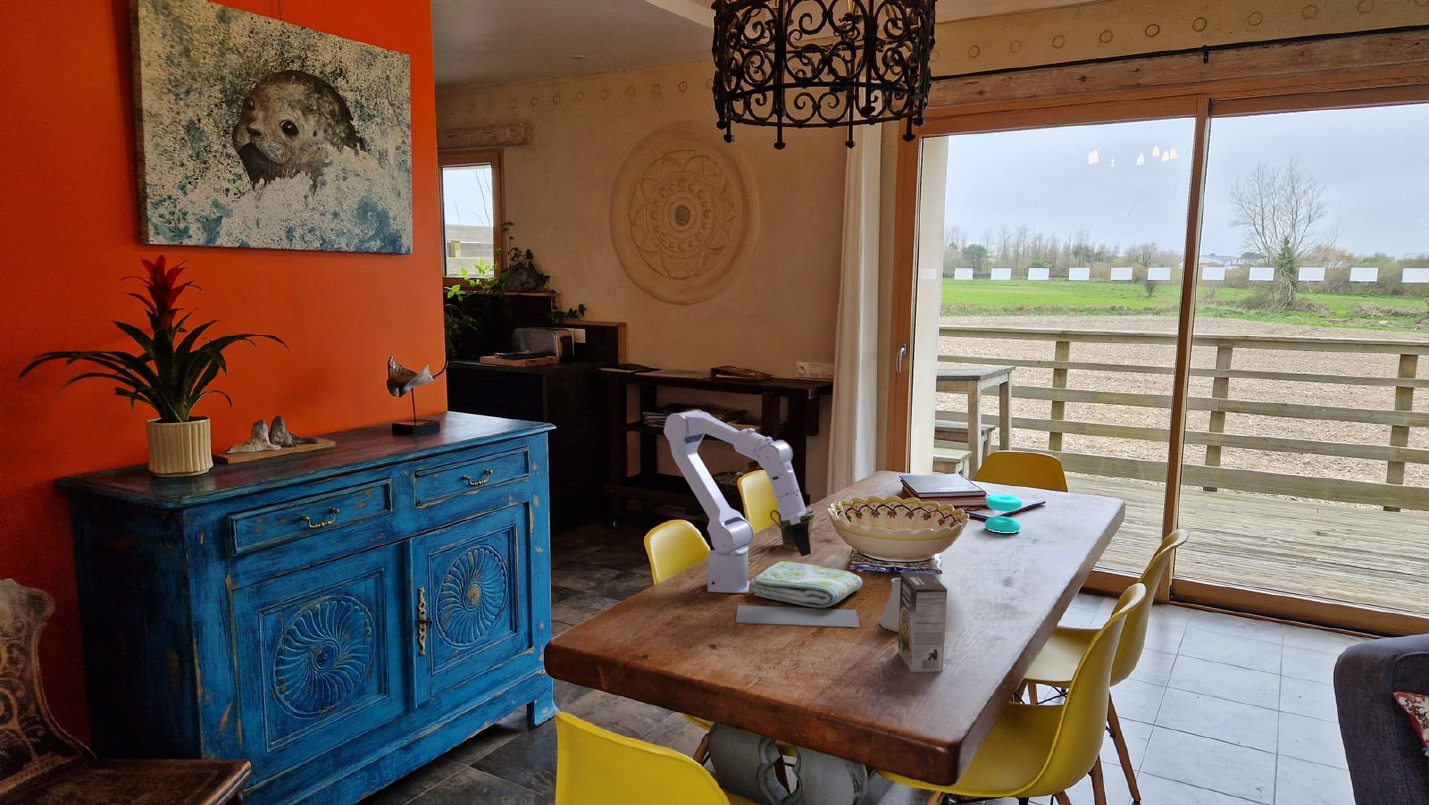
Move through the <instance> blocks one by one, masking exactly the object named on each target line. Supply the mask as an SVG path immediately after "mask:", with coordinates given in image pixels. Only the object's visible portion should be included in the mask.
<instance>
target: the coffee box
mask: <svg viewBox="0 0 1429 805" xmlns="http://www.w3.org/2000/svg"><path fill="white" fill-rule="evenodd" d="M900 578H901V583H900V612H899V631H898V641H897V643H898V644H897V648H898V649H897V653H898V655H899V656H900V658H901V659H902V660H903V662H904V663H905V665H906V667H907V668H908V669H909V671H910V672H912V673H919V672H920V673H921V672H924V673H926V672H927V673H928V672H929V673H930V672H943V670H944V651H945V650H944V649H945V637H946V635H945V634H946V620H947V619H946V617H947V599H948V589H947V588H946V586H945V585H944V584H942V583H941V582H940V581H939V580H938V579H937V578H936V576H935V575H934V574H933V573H916V572H915V573H914V572H911V573H900Z"/></svg>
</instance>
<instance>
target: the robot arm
mask: <svg viewBox="0 0 1429 805" xmlns="http://www.w3.org/2000/svg"><path fill="white" fill-rule="evenodd" d="M663 434H664V435H665V437H666V439H667V441H668V442H669V446H670V450H671V455H672V458H673V460H674V461H675V463H676V465H677V466H678V468H679V470H680V472H681V474H683V476H684V478H685V481H686V482H687V484H688V485H689V487H690V489H691V490H692V492H693V494H694V496H695V497H696V498H697V501H698V502H699V504H700V506H701V507H702V508H703V510H704V512H705V513H706V515H707V517H708V518H709V522H708V525H707V528H706V530H707V532H708V534H709V536H710V539H711V540H710V541H711V544H712V547H713V548H714V549H712V550H708V557H707V558H708V559H707V561H708V562H707V574H706V580H707V592H708V593H726V594H727V593H728V594H729V593H731V594H732V593H733V594H748V593H749V592H750V591H749V590H750V581H751V580H748V576H749V575H748V573H749V571H748V570H749V568H748V567H749V565H748V564H749V549H750V545H751V543H752V542H753V541H754V537H755V530H754V527H753V525H752V524H751V523H750V522H749V521H748V520H747V519H746V518H744V516H743V515H742V514H741V512H740V511H737V510H736V509H734V508H732V507H730V505H729V503H728V502H727V500H726V499H725V497H724V495H723V493H722V492H721V490H720V489H719V487H718V485H717V483H716V481H715V480H714V479H713V477H712V475H711V474H710V472H709V471H708V469H707V467H706V466H705V464H704V462H703V460H702V459H701V457H700V455H699V454H698V448H699V446H700V444H701V442H702V440H703V438H704V437H705V435H706V434H707V435H709V436H711V437H713V438H716V439H719V440H721V441H724V442H727V443H728V444H732V445H733V449H734V451H735V452H737V453H739V454H741V455H743V456H745V457H747V458H750V459H752V460H754V461H756V462H757V463H758V466H760V467H761V468H762V469H763V470H764V471H765V474H766V476H767V477H768V479H769V483H770V486H771V489H772V491H773V495H774V498H775V502H776V505H777V508H778V510H779V511H780V515H781V521H785V520H790V522H791V524H788V525H786V526H785V527H784V530H785V531H786V532H787V533H788V534H789V535H790V537H791V538H792V539H793V541H794V543H795V545H796V547H797V549H798V550H797V551H798V552H799V555H800V556H801V557H805V556H808V555H811V554H812V549H811V541H810V540H811V539H810V540H809V534H808V527H809V518H804V519H801V516H802V515H804V514H806V513H808V512H811V511H812V510H813V509H812V507H808V508H809V509H806V508H807V507H806V506H805V502H804V498H803V497H802V496H803V495H802V493H801V490H800V487H799V484H798V481H797V477H796V473H795V471H794V468H793V464H792V460H793V456H794V455H793V454H794V452H793V448H792V447H791V445H790V444H789V443H788V442H786V441H785V440H784V439H778V440H775V441H774V440H773V437H770V436H764V435H762V434H760V433H757V432H756V429H755V428H752V427H749V428H743V429H740V430H738V429H737V428H734V427H733V426H731V425H729V424H727V423H725V422H723V421H722V420H720V419H717V418H715V417H714V416H712V415H711V414H710V413H709V412H707V411H702V410H701V409H692V410H689V411H683V412H679V413H677V412H675V413H671V414H670V415H668V416H667V418H666V419H665V423H664V428H663ZM811 509H812V510H811ZM800 519H801V520H800Z"/></svg>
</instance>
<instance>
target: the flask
mask: <svg viewBox="0 0 1429 805" xmlns="http://www.w3.org/2000/svg"><path fill="white" fill-rule="evenodd" d="M890 583H891V585H892V586H891V591H890V596H889V599H888V601H887V603H886V606H885V608H884V611H883V613H882V614H881V618H880V620H879V622H878V624H880V625H881V627H882V628H883V629H887V630H889V631H892V632H895V633H897V632H899V612H900V583H901V577H896V578H895V577H894V578H892V579H890Z"/></svg>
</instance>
